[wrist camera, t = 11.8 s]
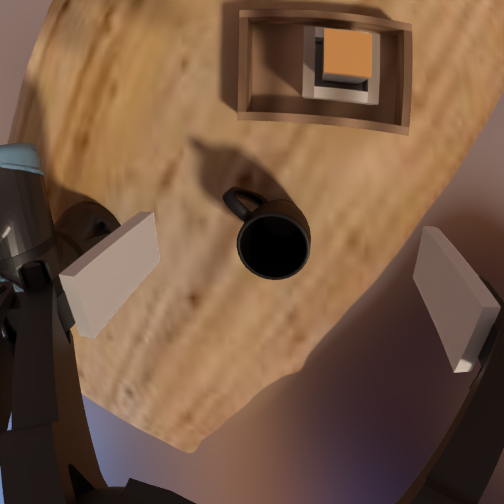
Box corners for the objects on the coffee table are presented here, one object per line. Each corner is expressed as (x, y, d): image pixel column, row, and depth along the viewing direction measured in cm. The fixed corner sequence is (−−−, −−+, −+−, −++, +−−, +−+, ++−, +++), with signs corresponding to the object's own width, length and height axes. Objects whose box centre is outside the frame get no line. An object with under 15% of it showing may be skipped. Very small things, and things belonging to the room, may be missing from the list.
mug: (266, 155, 41) (252, 169, 32) (324, 224, 43) (325, 254, 35) (221, 194, 44) (198, 217, 36) (278, 256, 46) (268, 292, 38)
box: (244, 118, 39) (231, 121, 33) (246, 18, 33) (233, 3, 27) (400, 132, 36) (415, 138, 29) (403, 31, 29) (419, 18, 23)
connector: (321, 82, 32) (323, 71, 23) (322, 50, 31) (324, 28, 21) (355, 85, 32) (371, 77, 22) (356, 53, 30) (372, 33, 20)
